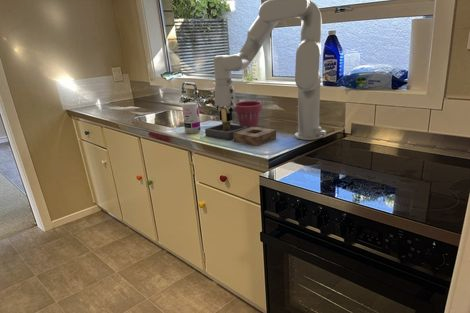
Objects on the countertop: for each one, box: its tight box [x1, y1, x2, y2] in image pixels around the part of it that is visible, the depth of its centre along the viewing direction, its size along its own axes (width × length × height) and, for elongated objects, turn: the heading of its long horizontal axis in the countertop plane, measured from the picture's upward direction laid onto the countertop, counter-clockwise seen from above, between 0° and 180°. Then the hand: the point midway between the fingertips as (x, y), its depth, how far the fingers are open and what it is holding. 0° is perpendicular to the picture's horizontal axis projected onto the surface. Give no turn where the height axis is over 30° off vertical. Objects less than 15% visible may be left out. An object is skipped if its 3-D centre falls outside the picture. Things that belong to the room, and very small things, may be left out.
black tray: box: [204, 123, 248, 141], centre depth 172 cm, size 16×14×4 cm
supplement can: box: [181, 101, 201, 134], centre depth 180 cm, size 8×8×15 cm
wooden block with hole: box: [232, 126, 277, 147], centre depth 160 cm, size 14×14×4 cm
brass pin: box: [221, 107, 231, 131], centre depth 170 cm, size 4×4×11 cm
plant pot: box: [234, 100, 263, 128], centre depth 182 cm, size 14×14×13 cm
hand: (226, 119), depth 170 cm, fingers closed on brass pin, 4 cm apart
